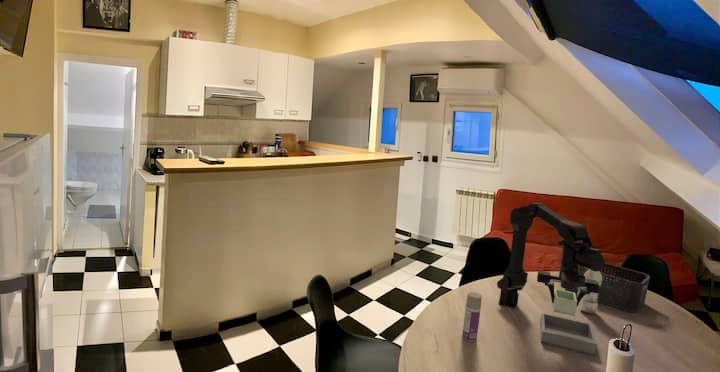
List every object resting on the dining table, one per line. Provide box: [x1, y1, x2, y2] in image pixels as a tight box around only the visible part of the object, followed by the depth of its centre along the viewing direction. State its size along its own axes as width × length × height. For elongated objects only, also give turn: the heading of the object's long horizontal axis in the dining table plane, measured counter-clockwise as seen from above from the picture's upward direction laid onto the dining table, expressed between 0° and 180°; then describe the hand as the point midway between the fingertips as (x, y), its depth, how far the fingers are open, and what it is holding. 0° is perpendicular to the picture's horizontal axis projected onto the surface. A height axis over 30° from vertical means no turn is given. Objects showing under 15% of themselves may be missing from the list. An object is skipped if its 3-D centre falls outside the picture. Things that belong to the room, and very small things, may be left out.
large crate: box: [539, 312, 598, 357], centre depth 141 cm, size 16×16×4 cm
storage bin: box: [564, 262, 651, 314], centre depth 182 cm, size 29×19×13 cm
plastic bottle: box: [578, 269, 604, 314], centre depth 163 cm, size 6×7×20 cm
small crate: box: [552, 288, 578, 317], centre depth 140 cm, size 6×9×5 cm
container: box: [461, 291, 483, 343], centre depth 135 cm, size 5×5×15 cm
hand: (563, 305), depth 140 cm, fingers closed on small crate, 6 cm apart
